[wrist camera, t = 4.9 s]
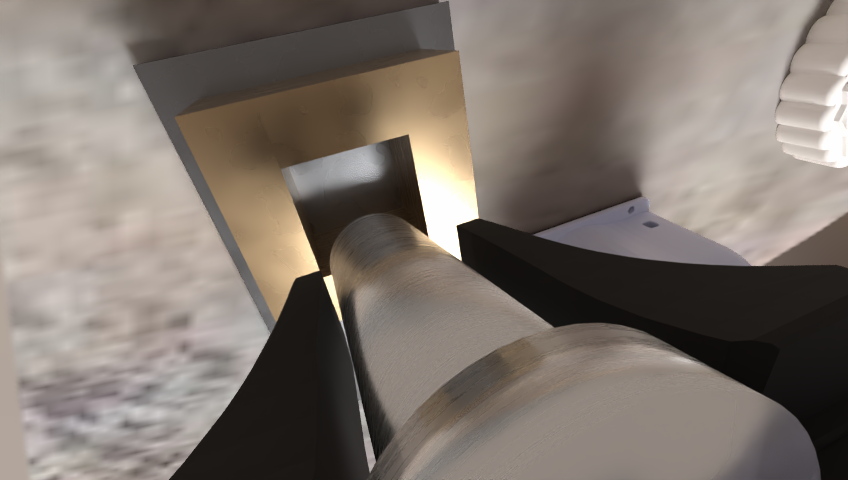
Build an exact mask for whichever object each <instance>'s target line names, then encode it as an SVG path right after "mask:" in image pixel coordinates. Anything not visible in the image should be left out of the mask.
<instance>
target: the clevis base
mask: <svg viewBox="0 0 848 480" xmlns="http://www.w3.org/2000/svg"><path fill="white" fill-rule="evenodd" d="M133 67H134V69H135V71H136V73H137V75H138V77H139V79H140V81H141V83H142V84H143V86H144V88H145V90H146V92H147V94H148V96H149V98H150V100H151V102H152V104H153V106H154V108H155V110H156V112H157V114H158V116H159V117H160V119H161V121H162V123H163V125H164V127H165V129H166V131H167V133H168V135H169V137H170V139H171V141H172V143H173V145H174V147H175V149H176V150H177V152H178V154H179V156H180V158H181V160H182V162H183V164H184V166H185V168H186V170H187V172H188V174H189V176H190V178H191V180H192V181H193V183H194V185H195V187H196V189H197V191H198V193H199V195H200V197H201V199H202V201H203V203H204V205H205V207H206V209H207V211H208V213H209V214H210V216H211V218H212V220H213V222H214V224H215V226H216V228H217V230H218V232H219V234H220V236H221V238H222V240H223V242H224V244H225V245H226V247H227V249H228V251H229V253H230V255H231V257H232V259H233V261H234V263H235V265H236V267H237V269H238V271H239V273H240V275H241V277H242V278H243V280H244V282H245V284H246V286H247V288H248V290H249V292H250V294H251V296H252V298H253V300H254V302H255V304H256V306H257V308H258V310H259V311H260V313H261V315H262V317H263V319H264V321H265V323H266V325H267V327H268V329H269V331H270V333H271V332H272V330H273V328H274V326H275V324H276V322H277V320H278V318H279V315H280V313H281V311H282V309H283V306H284V304H285V302H286V299H287V297H288V294H289V292H290V289H291V287H292V284H293V282H294V281H295V279H296V278H298V277H301V276H304V275H307V274H310V273H313V272H316V271H319V270H320V271H321V273H322V276H323V278H324V281H325V284H326V286H327V289H328V291H329V294H330V297H331V299H332V302H333V305H334V307H335V310H336V312H337V315H338V318H339V320H340V323H341V325H342V328H343V331H344V334H345V338H346V341H347V337H346V333H345V329H344V325H343V320H342V316H341V312H340V308H339V304H338V299H337V295H336V291H335V287H334V283H333V278H332V274H331V270H330V254H331V249H332V247H333V244H334V242H335V240H336V238H337V236H338V235H339V233H340V232H341V231H342V230H343V229H344V228H345V227H346V226H347V225H348V224H349V223H351V222H352V221H354V220H356V219H358V218H360V217H362V216H365V215H369V214H374V213H386V214H391V215H394V216H397V217H400V218H402V219H403V220H405V221H406V222H408V223H409V224H411V225H412V226H413V227H415V228H416V229H418V230H419V231H420V232H422V233H423V234H425V235H426V236H427V237H429V238H430V239H432V240H433V241H434V242H436V243H437V244H439V245H440V246H441V247H443V248H444V249H446V250H447V251H448V252H450V253H451V254H453V255H454V256H455V257H457V258H458V259H460V260H461V255H460V248H459V242H458V235H457V229H456V225H458V224H461V223H464V222H467V221H470V220H473V219H476V218H477V219H479V217H478V209H477V200H476V192H475V184H474V175H473V167H472V158H471V150H470V142H469V133H468V125H467V117H466V108H465V100H464V91H463V83H462V75H461V66H460V58H459V51H455V49H454V41H453V33H452V25H451V17H450V9H449V1H446V2H441V3H436V4H431V5H426V6H422V7H417V8H412V9H407V10H402V11H397V12H392V13H387V14H382V15H378V16H373V17H368V18H363V19H358V20H353V21H348V22H343V23H338V24H333V25H329V26H324V27H319V28H314V29H309V30H304V31H299V32H294V33H289V34H284V35H280V36H275V37H270V38H265V39H260V40H255V41H250V42H245V43H240V44H235V45H231V46H226V47H221V48H216V49H211V50H206V51H201V52H196V53H191V54H186V55H182V56H177V57H172V58H167V59H162V60H157V61H152V62H147V63H142V64H138V65H133ZM347 345H348V341H347ZM348 349H349V346H348ZM349 353H350V350H349ZM350 356H351V354H350ZM351 360H352V358H351ZM352 364H353V362H352ZM353 370H354V367H353ZM354 377H355V383H356V390H357V397H358V401H359V400H361V396H360V392H359V388H358V383H357V379H356V375H355V371H354Z"/></svg>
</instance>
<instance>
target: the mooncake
mask: <svg viewBox="0 0 848 480" xmlns="http://www.w3.org/2000/svg"><path fill="white" fill-rule="evenodd" d="M780 99H781V102H780V103H779V105H778V107H777V109H776V112H775V121H776V122H777V123H778V124H779V125H778V127H777V130H776V139H777V140H778V141H780V142H783V143H782V151H783V152H784V153H787V154H791V155H792V156H793V157H794V158H796V159H800V160H804V161H809V162H813V163H818V164H822V165H827V166H831V167H836V168H841V167H845V166H848V0H834V1H833V2H832V4H831V5H830V7H829V9H828V11H827V13H826V16H823V17H821V18H820V19H818V20H817V21H816V22H815V23H814V25H813V26H812V27H811V29H810V31H809V33H808V35H807V38H806V43H805V44H804V45H802V46H801V47H800V48H799V49H798V51H797V52H796V53H795V55H794V57H793V59H792V62H791V65H790V74H789V75H788V76H787V77H786V78H785V80H784V82H783V83H782V86H781V88H780Z"/></svg>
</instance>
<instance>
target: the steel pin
mask: <svg viewBox="0 0 848 480" xmlns="http://www.w3.org/2000/svg"><path fill="white" fill-rule="evenodd" d="M330 270H331V274H332V278H333V283H334V287H335V291H336V295H337V299H338V304H339V308H340V312H341V316H342V320H343V325H344V329H345V333H346V337H347V341H348V346H349V350H350V354H351V358H352V362H353V367H354V371H355V375H356V379H357V383H358V388H359V392H360V396H361V400H362V404H363V409H364V413H365V417H366V421H367V425H368V430H369V434H370V438H371V442H372V446H373V451H374V455H375V459H376V463H375V465H374V467H373V469H372V471H371V473H370V475H369V476H368V478H367V480H821V475H820V467H819V463H818V459H817V454H816V450H815V448H814V446H813V444H812V441H811V439H810V437H809V435H808V433H807V431H806V430H805V429H804V427H803V426H802V425H801V423H800V422H799V421H798V419H797V418H796V417H795V416H794V415H793V414H791V413H790V412H789V411H788V410H787V409H785V408H784V407H783V406H782V405H780V404H778V403H777V402H775V401H773V400H771V399H769V398H767V397H766V396H764V395H762V394H760V393H758V392H756V391H754V390H753V389H751V388H749V387H747V386H745V385H743V384H741V383H740V382H738V381H736V380H734V379H732V378H730V377H728V376H727V375H725V374H723V373H721V372H719V371H717V370H715V369H714V368H712V367H710V366H708V365H706V364H704V363H702V362H701V361H699V360H697V359H695V358H693V357H691V356H689V355H688V354H686V353H684V352H682V351H680V350H678V349H676V348H675V347H673V346H671V345H669V344H667V343H665V342H664V341H662V340H660V339H658V338H656V337H654V336H652V335H650V334H648V333H646V332H644V331H641V330H638V329H634V328H631V327H627V326H624V325H616V324H607V323H583V324H572V325H567V326H561V327H556V328H555V327H553V326H552V325H550V324H549V323H548V322H546V321H545V320H543V319H542V318H541V317H539V316H538V315H536V314H535V313H534V312H532V311H531V310H529V309H528V308H527V307H525V306H524V305H522V304H521V303H520V302H518V301H517V300H515V299H514V298H513V297H511V296H510V295H508V294H507V293H506V292H504V291H503V290H501V289H500V288H499V287H497V286H496V285H494V284H493V283H492V282H490V281H489V280H488V279H486V278H485V277H483V276H482V275H481V274H479V273H478V272H476V271H475V270H474V269H472V268H471V267H469V266H468V265H467V264H465V263H464V262H462V261H461V260H460V259H458V258H457V257H455V256H454V255H453V254H451V253H450V252H448V251H447V250H446V249H444V248H443V247H441V246H440V245H439V244H437V243H436V242H434V241H433V240H432V239H430V238H429V237H427V236H426V235H425V234H423V233H422V232H420V231H419V230H418V229H416V228H415V227H413V226H412V225H411V224H409V223H408V222H406V221H405V220H403V219H402V218H400V217H397V216H394V215H391V214H386V213H374V214H369V215H365V216H362V217H360V218H358V219H356V220H354V221H352V222H351V223H349V224H348V225H347V226H346V227H345V228H344V229H343V230H342V231H341V232H340V233H339V235H338V236H337V238H336V240H335V242H334V244H333V247H332V249H331V254H330Z"/></svg>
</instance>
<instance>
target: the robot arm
mask: <svg viewBox="0 0 848 480" xmlns="http://www.w3.org/2000/svg"><path fill="white" fill-rule="evenodd" d="M649 204H650V203H649V199H647V198H645V197H639V198H636V199H633V200H631V201H628V202H625V203H622V204H619V205H616V206H613V207H611V208H608V209H605V210H602V211H599V212H596V213H593V214H591V215H588V216H585V217H582V218H579V219H576V220H573V221H571V222H568V223H565V224H562V225H559V226H556V227H553V228H551V229H548V230H545V231H542V232H539V233H536V234H533V235H531V234H528V233H525V232H522V231H518V230H515V229H512V228H509V227H506V226H503V225H499V224H496V223H493V222H490V221H486V220H482V219H477V218H476V219H473V220H470V221H467V222H464V223H461V224H458V225H456V229H457V235H458V242H459V248H460V255H461V261H462V262H464V263H465V264H467V265H468V266H469V267H471V268H472V269H474V270H475V271H476V272H478V273H479V274H481V275H482V276H483V277H485V278H486V279H488V280H489V281H490V282H492V283H493V284H494V285H496V286H497V287H499V288H500V289H501V290H503V291H504V292H506V293H507V294H508V295H510V296H511V297H513V298H514V299H515V300H517V301H518V302H520V303H521V304H522V305H524V306H525V307H527V308H528V309H529V310H531V311H532V312H534V313H535V314H536V315H538V316H539V317H541V318H542V319H543V320H545V321H546V322H548V323H549V324H550V325H552V326H553V327H555V328H556V327H561V326H567V325H572V324H583V323H607V324H616V325H624V326H627V327H631V328H634V329H638V330H641V331H644V332H646V333H648V334H650V335H652V336H654V337H656V338H658V339H660V340H662V341H664V342H665V343H667V344H669V345H671V346H673V347H675V348H676V349H678V350H680V351H682V352H684V353H686V354H688V355H689V356H691V357H693V358H695V359H697V360H699V361H701V362H702V363H704V364H706V365H708V366H710V367H712V368H714V369H715V370H717V371H719V372H721V373H723V374H725V375H727V376H728V377H730V378H732V379H734V380H736V381H738V382H740V383H741V384H743V385H745V386H747V387H749V388H751V389H753V390H754V391H756V392H758V393H760V394H762V395H764V396H766V397H767V398H769V399H771V400H773V401H775V402H777V403H778V404H780V405H782V406H783V407H784V408H785V409H787V410H788V411H789V412H790V413H791V414H793V415H794V416H795V417H796V418H797V419H798V421H799V422H800V423H801V425H802V426H803V427H804V429H805V430H806V431H807V433H808V435H809V437H810V439H811V441H812V444H813V446H814V448H815V450H816V454H817V459H818V463H819V467H820V475H821V480H848V268H845V267H842V266H838V265H805V266H751V265H750V264H749V263H748V262H747V261H746V260H745V259H744V258H743V257H741V256H740V255H739V254H737V253H736V252H734V251H733V250H731V249H729V248H727V247H725V246H723V245H721V244H719V243H716V242H714V241H712V240H710V239H708V238H705V237H703V236H701V235H699V234H697V233H694V232H692V231H690V230H688V229H686V228H684V227H681V226H679V225H677V224H675V223H673V222H670V221H668V220H666V219H664V218H662V217H659V216H657V215H655V214H653V213H651V212H649ZM369 475H370V472H369V468H368V462H367V457H366V452H365V446H364V439H363V432H362V425H361V418H360V411H359V404H358V397H357V390H356V383H355V377H354V370H353V364H352V360H351V356H350V353H349V349H348V345H347V341H346V338H345V334H344V331H343V328H342V325H341V323H340V320H339V318H338V315H337V312H336V310H335V307H334V305H333V302H332V299H331V297H330V294H329V291H328V289H327V286H326V284H325V281H324V278H323V276H322V273H321V271H320V270H319V271H316V272H313V273H310V274H307V275H304V276H301V277H298V278H296V279H295V281H294V282H293V284H292V287H291V289H290V292H289V294H288V297H287V299H286V302H285V304H284V306H283V309H282V311H281V313H280V315H279V318H278V320H277V322H276V324H275V326H274V328H273V330H272V332H271V334H270V337H269V339H268V340H267V342H266V344H265V346H264V348H263V350H262V352H261V353H260V355H259V357H258V359H257V361H256V362H255V364H254V366H253V368H252V370H251V371H250V373H249V375H248V376H247V378H246V380H245V381H244V383H243V384H242V386H241V387H240V389H239V390H238V392H237V393H236V395H235V396H234V398H233V399H232V401H231V402H230V404H229V405H228V407H227V408H226V409H225V411H224V412H223V413H222V415H221V416H220V417H219V419H218V420H217V421H216V423H215V424H214V425H213V426H212V428H211V429H210V430H209V431H208V433H207V434H206V435H205V436H204V438H203V439H202V440H201V442H200V443H199V444H198V445H197V447H196V448H195V449H194V450H193V452H192V453H191V454H190V456H189V457H188V458H187V459H186V461H185V462H184V463H183V464H182V465H181V466H180V468H179V469H178V470H177V471H176V472H175V473H174V475H173V476H172V477H171V478H170V479H169V480H367V478H368V476H369Z"/></svg>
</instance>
